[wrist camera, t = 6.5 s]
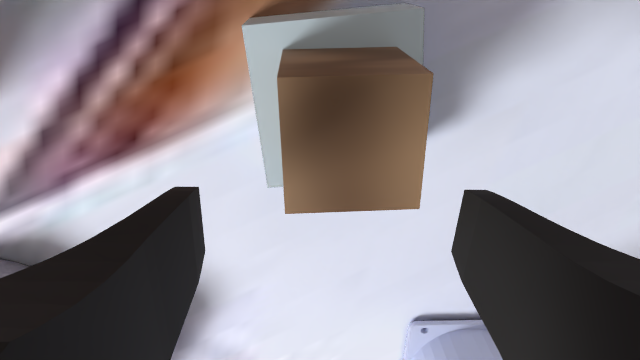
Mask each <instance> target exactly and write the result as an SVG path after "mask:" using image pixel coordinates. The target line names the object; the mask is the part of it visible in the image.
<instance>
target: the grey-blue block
mask: <svg viewBox="0 0 640 360" xmlns="http://www.w3.org/2000/svg"><path fill="white" fill-rule="evenodd" d="M242 30H243V37H244V43H245V49H246V55H247V62H248V68H249V74H250V80H251V86H252V93H253V99H254V105H255V111H256V118H257V124H258V130H259V136H260V143H261V149H262V155H263V161H264V167H265V174H266V180H267V186H268V188H272V187H282V186H283V170H282V154H281V138H280V121H279V105H278V89H277V74H278V70H279V65H280V60H281V55H282V51H283V49H321V48H363V47H398V48H399V49H401V50H402V51H403V52H405V53H406V54H407V55H409V56H410V57H412V58H413V59H414V60H416V61H417V62H418V63H420V64H421V65H422V66H423V45H424V8H423V7H419V6H415V5H412V4H408V3H398V4H387V5H377V6H367V7H356V8H346V9H336V10H325V11H315V12H305V13H294V14H284V15H274V16H264V17H253V18H249V19H248V20H247V21H246V22H245V23H244V24H243V25H242Z"/></svg>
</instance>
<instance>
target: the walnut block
mask: <svg viewBox="0 0 640 360" xmlns="http://www.w3.org/2000/svg"><path fill="white" fill-rule="evenodd" d="M432 82H433V73H432V72H431V71H429V70H428V69H427V68H425V67H424V66H422V65H421V64H420V63H418V62H417V61H416V60H414V59H413V58H412V57H410V56H409V55H407V54H406V53H405V52H403V51H402V50H401V49H399V48H398V47H363V48H321V49H283V51H282V55H281V60H280V65H279V70H278V74H277V89H278V105H279V121H280V138H281V154H282V170H283V187H284V203H285V214H295V213H321V212H348V211H375V210H402V209H419V208H420V199H421V189H422V179H423V169H424V160H425V150H426V140H427V131H428V121H429V111H430V102H431V92H432Z"/></svg>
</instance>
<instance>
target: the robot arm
mask: <svg viewBox="0 0 640 360" xmlns="http://www.w3.org/2000/svg"><path fill="white" fill-rule="evenodd" d="M451 252H452V255H453V258H454V261H455V264H456V267H457V270H458V272H459V275H460V278H461V281H462V283H463V285H464V287H465V289H466V291H467V293H468V295H469V296H470V298H471V300H472V302H473V304H474V306H475V308H476V310H477V312H478V313H479V315H480V317H481V319H482V320H445V321H413V322H411V323H410V324H409V326H408V330H407V336H406V342H405V349H404V355H403V360H640V259H637V258H635V257H632V256H630V255H627V254H624V253H622V252H619V251H617V250H614V249H611V248H609V247H607V246H604V245H602V244H599V243H597V242H595V241H593V240H590V239H588V238H586V237H584V236H582V235H579V234H577V233H575V232H573V231H571V230H569V229H566V228H564V227H562V226H560V225H558V224H556V223H554V222H552V221H550V220H548V219H546V218H544V217H542V216H540V215H538V214H536V213H534V212H532V211H531V210H529V209H527V208H525V207H523V206H521V205H519V204H517V203H515V202H513V201H511V200H509V199H507V198H505V197H502V196H500V195H498V194H496V193H493V192H490V191H488V190H464V195H463V199H462V204H461V209H460V213H459V218H458V223H457V227H456V232H455V237H454V241H453V246H452V251H451ZM204 254H205V244H204V234H203V224H202V215H201V205H200V195H199V187H174V188H172V189H170V190H168V191H167V192H165V193H163V194H162V195H160V196H159V197H157V198H156V199H154V200H153V201H151V202H150V203H148V204H147V205H145V206H143V207H142V208H140V209H139V210H137V211H136V212H134V213H133V214H131V215H130V216H128V217H126V218H125V219H123V220H121V221H120V222H118V223H116V224H115V225H113V226H111V227H109V228H108V229H106V230H104V231H103V232H101V233H99V234H98V235H96V236H94V237H92V238H90V239H89V240H87V241H85V242H83V243H81V244H79V245H77V246H75V247H73V248H71V249H69V250H67V251H65V252H62V253H60V254H58V255H56V256H54V257H52V258H50V259H47V260H45V261H43V262H40V263H38V264H35V265H33V266H30V267H27V268H25V269H22V270H20V271H17V272H15V273H12V274H10V275H7V276H5V277H2V278H0V360H170V359H171V356H172V353H173V351H174V348H175V345H176V342H177V340H178V337H179V334H180V332H181V329H182V326H183V324H184V321H185V318H186V316H187V313H188V310H189V307H190V305H191V302H192V299H193V296H194V294H195V291H196V288H197V285H198V282H199V278H200V274H201V269H202V264H203V259H204ZM422 328H425V329H422Z"/></svg>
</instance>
